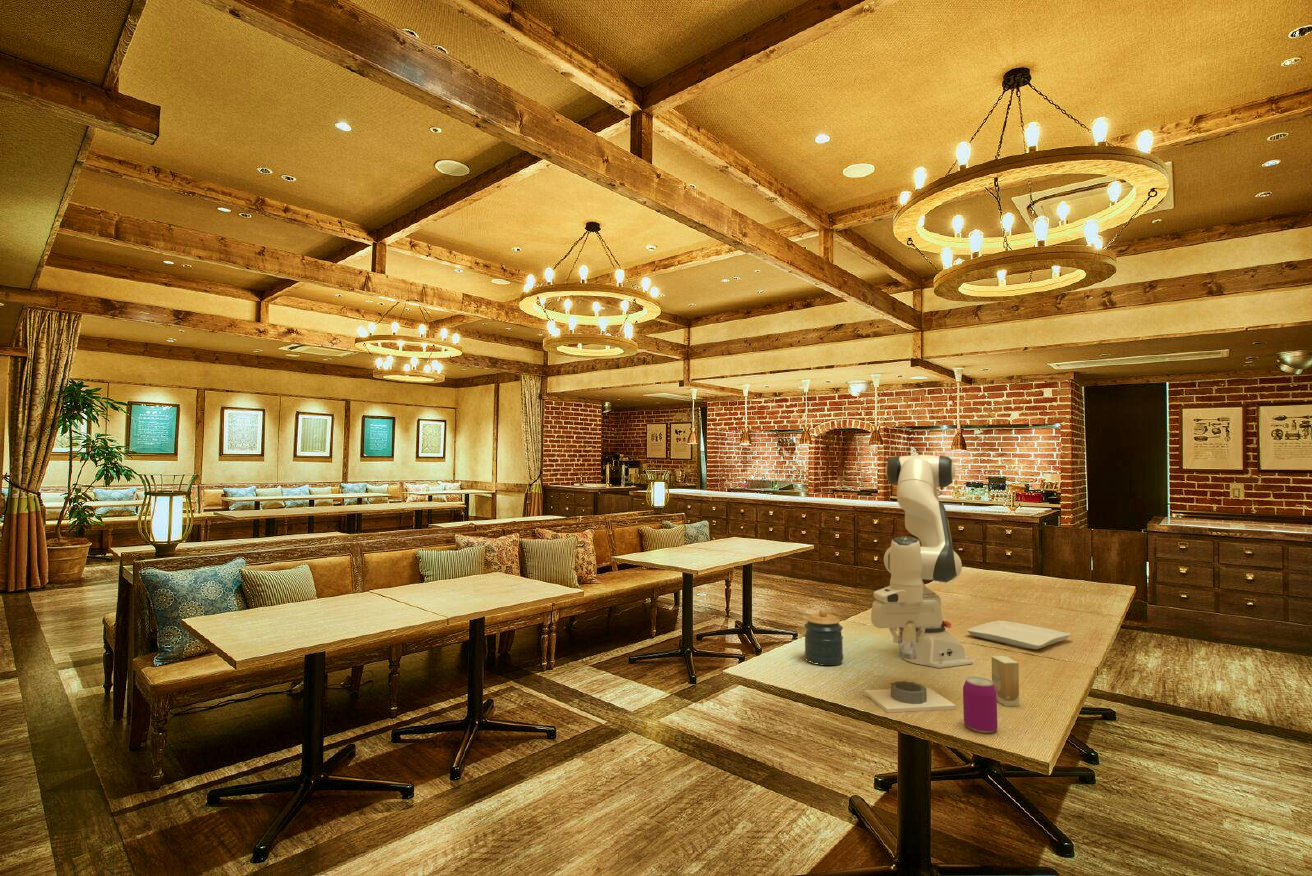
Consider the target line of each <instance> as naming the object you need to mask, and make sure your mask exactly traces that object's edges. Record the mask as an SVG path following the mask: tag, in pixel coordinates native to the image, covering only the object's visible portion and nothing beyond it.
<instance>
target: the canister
mask: <svg viewBox="0 0 1312 876" xmlns="http://www.w3.org/2000/svg"><path fill="white" fill-rule="evenodd" d="M806 621H807V622H805V624H804V625H803V627H804V628H805V632H804V634H803V635H804V657H805V658H806V659H807V660H808V661H811V662H813V663H818V664H823V665H836V666H839V665H838V664H840V663H841V664H842V663H843V662H842V661H843V660H844V653H843V650H844V648H843V647H844V646H843V639H844V637H843V635H842V630H843V629H844V628H843V625H841V624H840V623H841V620H840V618H838V617H837V616H836V615H833V614H831V613H828V612H827V610H826V609H825V608H821V609H820V610H819V612H817V613H811V615H809V616H807V617H806ZM806 659H805V660H806ZM808 661H807V662H808ZM841 664H840V665H841Z"/></svg>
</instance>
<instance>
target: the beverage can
mask: <svg viewBox="0 0 1312 876" xmlns="http://www.w3.org/2000/svg"><path fill="white" fill-rule="evenodd" d="M962 703H963V706H962V707H963V722H964V725H965V726H966V727H967V728H968V729H970V730H972V731H973V732H976V733H980V734H991V733H995V731H997V729H998V701H997V691H996V689H995V687H994V684H993V682H992V679H989V678H986V677H981V676H976V675H975V676H967V677H966V678H965V681H964V683H963V686H962Z"/></svg>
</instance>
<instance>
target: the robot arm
mask: <svg viewBox="0 0 1312 876" xmlns="http://www.w3.org/2000/svg"><path fill="white" fill-rule="evenodd" d="M884 471H885V476H886V478H887V482H889V483H890V485H893V486H896V501H897V503H898V505H899V507H900V508H901V509H902V510H903V511H904V527H905V529H906V531H908V533H910V535H913V536H906V535H904V536H902V535H901V536H897V537H894V538H892V540H891V544H890V547H888V548H887V550H886V551H885V553H884V556H883V563H884V564H883V565H884V566H885V569H886V570H887V571H888V572H889V573H890V574H891V575H890V580H889V585H887V586H885V587H883V588H881V589H877V590H875V591H873V598H874V599H875V600H874V601H873V602H872V605H871V613H870V615H871V616H870V620H871V624H872V625H873V626H874V627H876V628H878V629H888V630H889V632H890V634H891V636H893V637H892V639H893V640H892V641H893V643H895V644H899V643H901V637H899V636H898V634H897V632H898V628H903V627H905V623H907V621H913V623H916V641H917V658H916V659H905V658H902V660H904V661H907V662H909V663H912V664H915V665H916V664H917V665H921V666H927V667H931V668H937V669H941V668H943V669H944V668H950V667H958V666H965V665H971V664H973V660H972V658H971V657H969V656H968V655H966V654H965V648H964V645H963V643H962V642H961V641H959V639H957V637H955V636H953V634H951V633H950V632H948V631H947V630H946V628H947V629H951V627H952V623H951V622H950V621H946V620H945V621H944V619H943V612H942V607H941V606H942V599H941V597H940V596H939V594H937V593H936V592H935V591H933V590H932V589H930V588H929V587H927V585H926V584H925V582H924V581H923V580H928V581H934V582H941V583H944V584H945V583H948V582H950V581H954V580H956V579H957V578H958V577H959V576H960V575H961V572H962V570H963V569H962V568H963V564H962V563H963V562H962V560H961V557H960V556H959V554H957V552H956V551H954V546H953V541H952V535H951V529H950V524H949V519H948V516H947V512H946V511H947V510H946V506H945V504H944V503H943V502H942V501H940V500H939V491H938V487H939V488H940V491H942V490H944V488H946V487H949V486H950V485H951V484H952V483H953V480H954V479H955V476H956V465H955V464H954V462H953V460H952V458H951V457H948V456H947V455H946V456H945V455H939V456H938V455H932V454H931V455H930V454H918V455H916V454H915V455H902V456H900V455H895V456H891V457H890V458H889V459H888V460H887V463H886V465H885V470H884ZM916 537H917V538H916Z"/></svg>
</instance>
